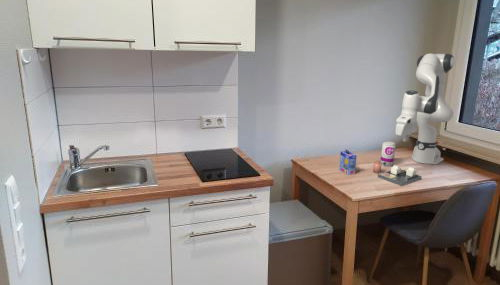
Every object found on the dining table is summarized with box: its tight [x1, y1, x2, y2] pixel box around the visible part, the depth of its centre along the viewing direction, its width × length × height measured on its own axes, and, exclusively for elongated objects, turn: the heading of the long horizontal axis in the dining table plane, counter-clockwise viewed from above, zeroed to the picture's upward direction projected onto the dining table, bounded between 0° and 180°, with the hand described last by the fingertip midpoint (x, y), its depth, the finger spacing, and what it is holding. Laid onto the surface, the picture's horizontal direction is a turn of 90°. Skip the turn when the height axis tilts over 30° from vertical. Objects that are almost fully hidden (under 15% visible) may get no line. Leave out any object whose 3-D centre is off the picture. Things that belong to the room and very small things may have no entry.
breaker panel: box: [377, 169, 422, 186], centre depth 217 cm, size 20×16×3 cm
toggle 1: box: [390, 164, 402, 175], centre depth 219 cm, size 4×4×5 cm
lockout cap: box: [372, 160, 383, 174], centre depth 226 cm, size 5×5×7 cm
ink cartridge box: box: [338, 148, 357, 176], centre depth 225 cm, size 10×6×14 cm, turn 20°
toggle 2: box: [405, 166, 418, 176], centre depth 216 cm, size 4×4×5 cm
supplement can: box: [379, 141, 396, 167], centre depth 240 cm, size 8×8×15 cm
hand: (405, 141), depth 219 cm, fingers closed
